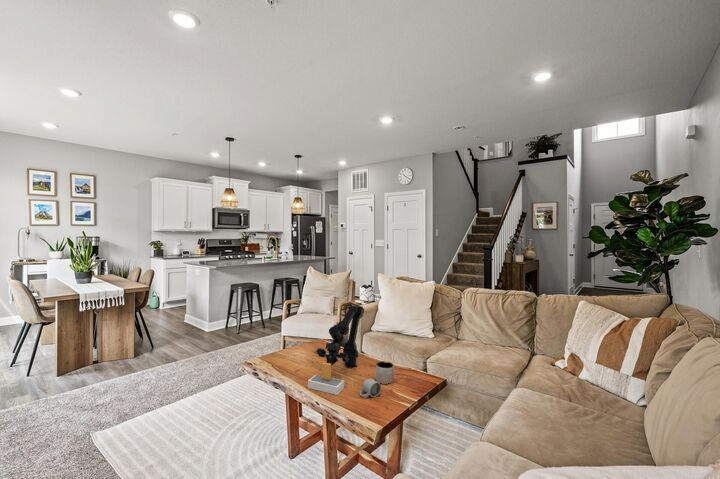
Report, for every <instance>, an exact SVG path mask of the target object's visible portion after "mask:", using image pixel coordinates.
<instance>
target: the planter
mask: <svg viewBox="0 0 720 479" xmlns="http://www.w3.org/2000/svg"><path fill="white" fill-rule="evenodd" d="M394 374H395V364H394V363H393V362H390V361H385V360H383V361H378V362H376V363H375V375H374V379H375V380H374V381H376V382H379V383H383V384H382V385H389V384H388V383H390V384H392V383H394V380H395V379H394V378H395V377H394Z"/></svg>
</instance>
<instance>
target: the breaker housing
mask: <svg viewBox="0 0 720 479" xmlns="http://www.w3.org/2000/svg"><path fill="white" fill-rule="evenodd" d="M307 389H311V390H315V391H320V392H323V393H328V394H332V395H335V396H338V395H339V393H340V392H342V390H344V389H345V380H344V379H337V378H334V377H331V379H330V380H328V379H323V378H322V374H321V375H320V374H314V375H313V376H312V377H311V378H309V379H308V380H307Z"/></svg>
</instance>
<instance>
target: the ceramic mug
mask: <svg viewBox="0 0 720 479" xmlns="http://www.w3.org/2000/svg"><path fill="white" fill-rule="evenodd" d="M381 385H382V384H380V383H378V382H377V381H376V380H374V379H372V378H366V379H365V380H364V381H363V383H362V389H360V390H359V396H360V397H362V398H367V397H369V396H370V397H371V398H377V397H378V396H379V395H380V394H381V391H382V386H381ZM363 392H365V394H363ZM376 396H377V397H376Z"/></svg>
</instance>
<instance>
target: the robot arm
mask: <svg viewBox="0 0 720 479" xmlns="http://www.w3.org/2000/svg"><path fill="white" fill-rule="evenodd" d="M364 313H365V307H363V306H362V305H355V304H354V305H350V306H349V307H348V310H347V312H346V314H345V315H344V317H343V318H342V320H341V321H338V323H337V324H333V326H331V327H329V329H328V333H329V335H330V337H331V339H332V341H331V342H330V343H328V342H326V343H325V349H326V350H325V349H324V348H317V349H316V351H315V352H316V355H317V356H318V357H320V358H326V363H329V364H331V367H332V366H334V365H335V364H336V363H339V359H341V360H342V362H343V364H344V365H345V367H346V369H347V368H349V369H350V368H357V367H358V365H357V364H356V363H357V359H358V358H359V351H358V346H357V343H356V339H357V335H358V329H359V322H360V319H361V318H362V317H363V315H364ZM350 324H351V325H350ZM348 333H349V334H348ZM344 335H345V336H346V335H348V340H347V341H346V342H345V343H344V346H343V348H342V344H343V342H344V341H345V338H344ZM341 350H342V351H341ZM340 351H341V352H340Z"/></svg>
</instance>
